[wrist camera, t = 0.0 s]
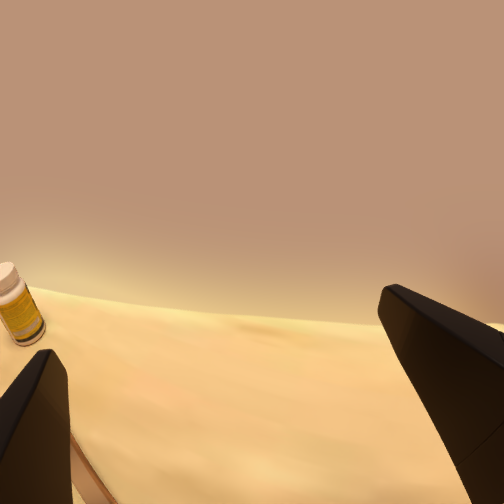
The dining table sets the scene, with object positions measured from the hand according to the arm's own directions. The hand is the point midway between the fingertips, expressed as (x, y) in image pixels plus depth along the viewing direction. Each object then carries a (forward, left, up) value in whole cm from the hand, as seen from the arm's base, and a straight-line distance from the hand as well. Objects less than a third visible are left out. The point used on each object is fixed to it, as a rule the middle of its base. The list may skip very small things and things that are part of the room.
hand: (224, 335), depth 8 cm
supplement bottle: (+21, +21, -17) cm, 34 cm away
